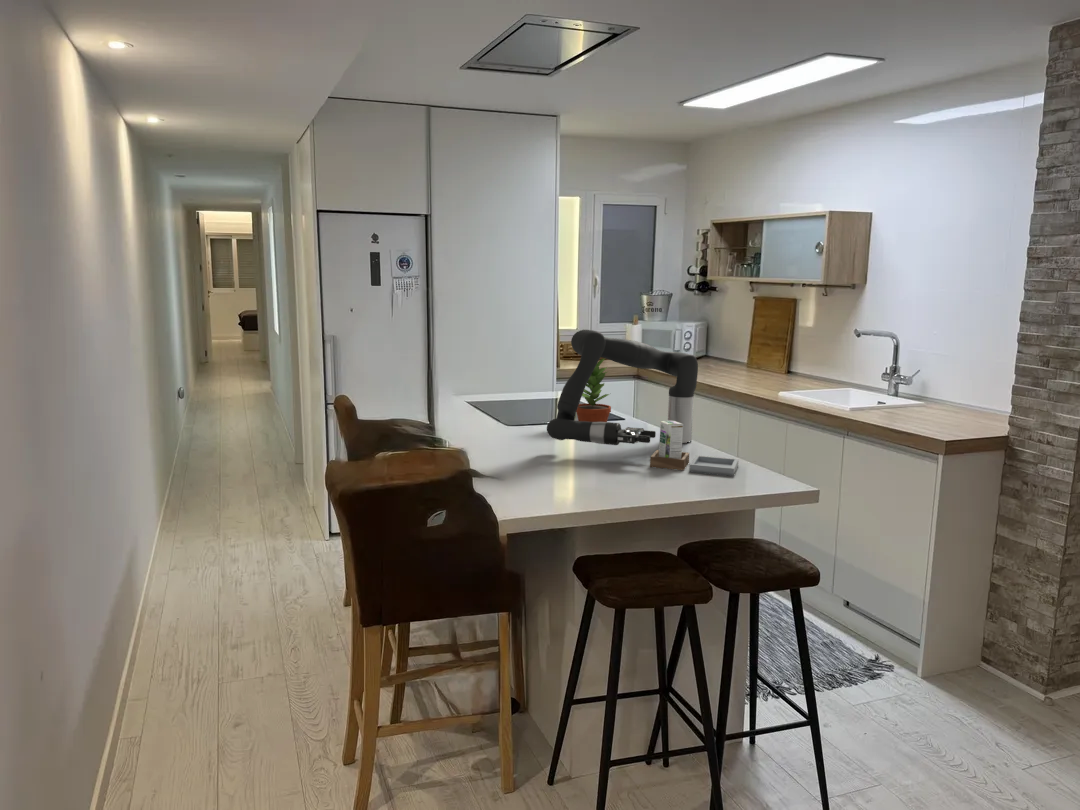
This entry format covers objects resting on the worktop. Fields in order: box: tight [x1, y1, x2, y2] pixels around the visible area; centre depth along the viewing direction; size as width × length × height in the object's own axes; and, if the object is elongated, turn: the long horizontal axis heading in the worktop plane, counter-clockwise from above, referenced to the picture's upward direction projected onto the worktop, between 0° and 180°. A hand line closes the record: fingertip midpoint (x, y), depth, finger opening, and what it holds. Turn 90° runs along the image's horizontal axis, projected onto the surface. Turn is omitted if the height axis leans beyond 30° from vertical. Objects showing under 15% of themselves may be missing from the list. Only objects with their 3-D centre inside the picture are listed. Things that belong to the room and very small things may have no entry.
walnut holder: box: [649, 449, 690, 471], centre depth 269 cm, size 11×11×4 cm
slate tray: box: [688, 454, 740, 477], centre depth 264 cm, size 14×14×2 cm
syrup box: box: [658, 420, 683, 459], centre depth 268 cm, size 6×6×14 cm
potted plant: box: [576, 358, 612, 422], centre depth 326 cm, size 15×15×30 cm
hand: (652, 437), depth 269 cm, fingers open, 8 cm apart
